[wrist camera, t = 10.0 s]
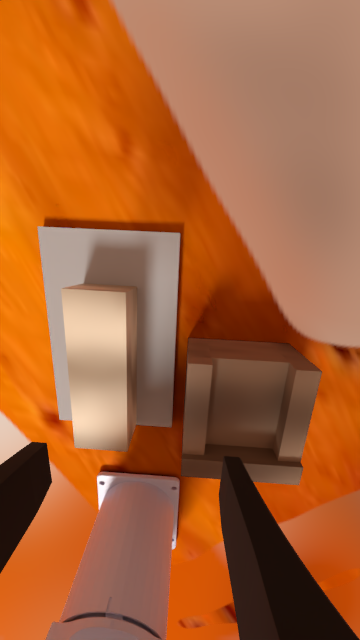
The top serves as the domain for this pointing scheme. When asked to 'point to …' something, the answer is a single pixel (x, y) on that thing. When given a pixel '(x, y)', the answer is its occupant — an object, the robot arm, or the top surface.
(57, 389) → the mat
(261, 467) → the holder
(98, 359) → the bar
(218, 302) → the top surface
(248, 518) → the robot arm
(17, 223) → the top surface
